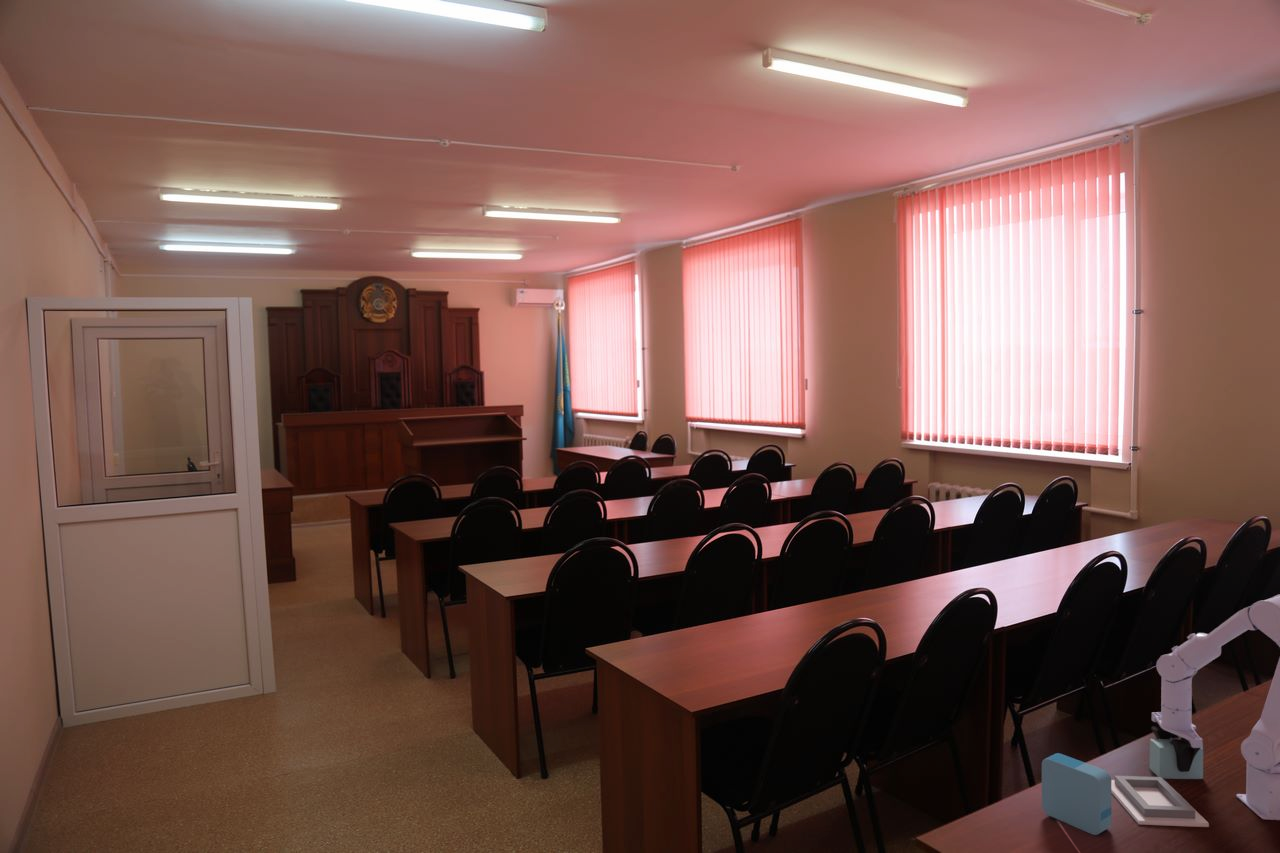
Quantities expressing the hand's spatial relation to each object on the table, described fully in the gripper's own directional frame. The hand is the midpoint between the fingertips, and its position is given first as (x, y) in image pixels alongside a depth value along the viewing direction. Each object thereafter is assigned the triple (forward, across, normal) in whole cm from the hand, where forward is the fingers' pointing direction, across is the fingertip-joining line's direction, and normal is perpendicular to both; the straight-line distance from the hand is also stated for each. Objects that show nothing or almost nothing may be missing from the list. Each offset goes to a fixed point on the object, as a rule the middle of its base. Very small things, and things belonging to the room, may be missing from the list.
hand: (1175, 765), depth 186 cm
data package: (+2, -18, +32) cm, 37 cm away
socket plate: (+2, -12, +13) cm, 18 cm away
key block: (+2, 0, 0) cm, 2 cm away
